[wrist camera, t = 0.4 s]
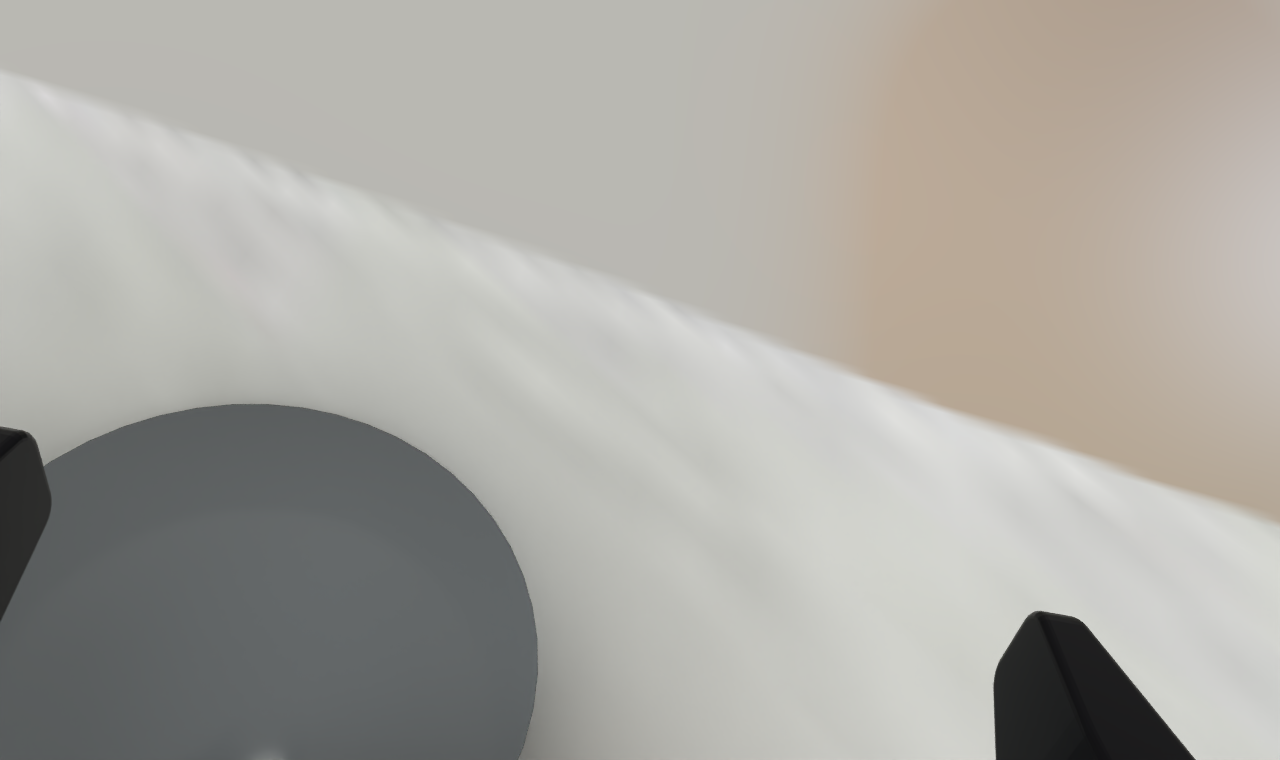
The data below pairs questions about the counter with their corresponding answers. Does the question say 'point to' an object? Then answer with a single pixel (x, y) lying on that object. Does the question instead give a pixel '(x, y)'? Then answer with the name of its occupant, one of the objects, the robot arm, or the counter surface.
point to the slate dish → (265, 601)
